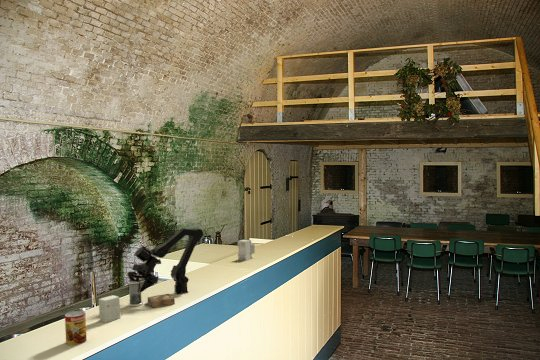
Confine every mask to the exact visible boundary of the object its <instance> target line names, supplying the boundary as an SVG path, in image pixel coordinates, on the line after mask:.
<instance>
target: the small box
mask: <svg viewBox="0 0 540 360" xmlns="http://www.w3.org/2000/svg"><path fill="white" fill-rule="evenodd" d="M120 301H121V300H120V296H117V295H113V294H112V295H109V296H105V297H102V298H99V299H98V310H99V311H98V313H99V321H101V322H103V323H109V322H112V321H116V320H118V319H121V304H120V303H121V302H120Z"/></svg>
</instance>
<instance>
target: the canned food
mask: <svg viewBox="0 0 540 360" xmlns="http://www.w3.org/2000/svg"><path fill="white" fill-rule="evenodd" d="M86 314H87V313H86V311H84V310H73V311H68V312H67V313H65V314H64V326H65V328H64V329H65V344H66V346H70V345H72V346H73V347H74V346H78V345H82V344H85V343H86V342H87V341H88V340H87V322H86V321H87V320H86Z"/></svg>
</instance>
